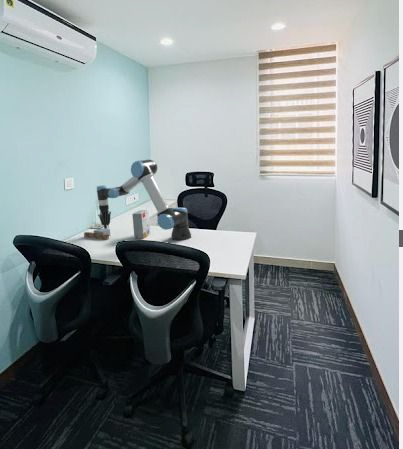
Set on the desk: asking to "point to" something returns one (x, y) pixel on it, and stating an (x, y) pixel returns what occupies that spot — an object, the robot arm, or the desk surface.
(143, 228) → the hard drive box
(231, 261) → the desk surface
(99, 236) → the walnut stop board
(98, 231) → the slate block
